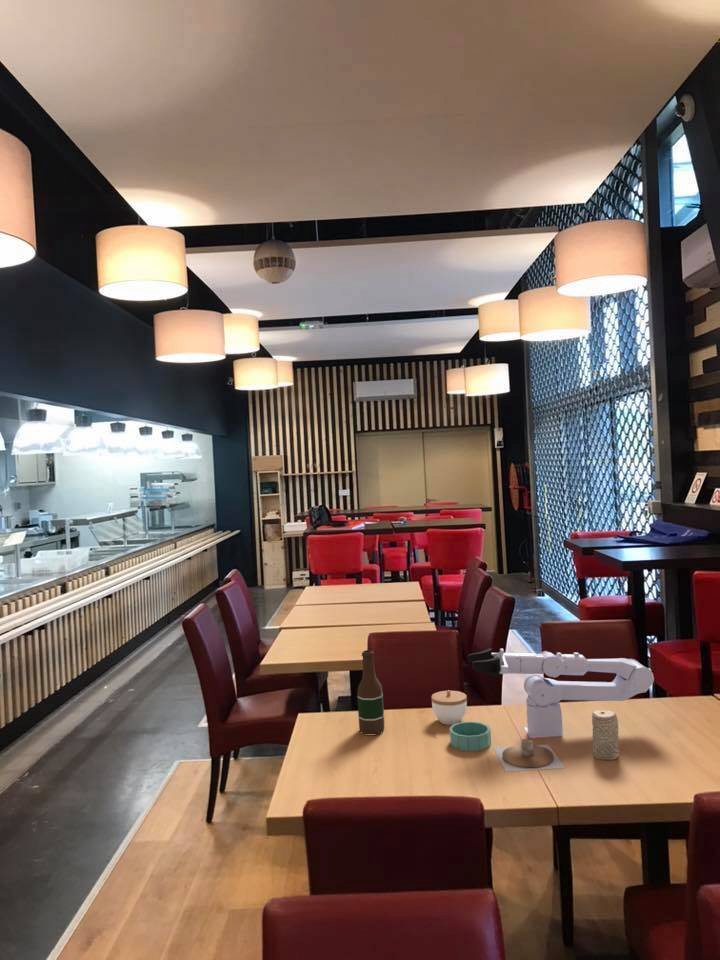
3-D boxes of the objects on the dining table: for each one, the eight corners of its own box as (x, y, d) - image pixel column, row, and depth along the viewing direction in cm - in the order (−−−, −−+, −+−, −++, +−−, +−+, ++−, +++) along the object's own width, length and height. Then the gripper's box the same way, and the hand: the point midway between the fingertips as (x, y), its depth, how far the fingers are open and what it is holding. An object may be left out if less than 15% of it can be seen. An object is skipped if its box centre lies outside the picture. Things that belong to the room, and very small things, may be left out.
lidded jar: (467, 714, 221) (465, 684, 221) (468, 727, 211) (467, 696, 211) (432, 715, 223) (430, 685, 222) (432, 728, 212) (431, 697, 212)
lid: (545, 746, 192) (544, 730, 192) (559, 766, 179) (559, 749, 179) (497, 749, 192) (497, 733, 192) (508, 769, 179) (507, 752, 179)
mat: (548, 746, 194) (548, 744, 193) (565, 770, 178) (564, 767, 178) (493, 750, 193) (493, 747, 193) (505, 773, 178) (505, 771, 178)
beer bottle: (389, 728, 214) (385, 649, 213) (376, 737, 207) (371, 655, 206) (368, 724, 218) (363, 646, 217) (354, 733, 211) (349, 653, 211)
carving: (589, 761, 183) (587, 714, 183) (599, 750, 189) (596, 706, 189) (614, 766, 179) (611, 719, 179) (623, 755, 185) (621, 709, 185)
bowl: (486, 736, 203) (485, 720, 203) (494, 751, 192) (493, 735, 192) (448, 738, 203) (447, 722, 203) (453, 754, 192) (453, 737, 192)
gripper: (512, 643, 210) (466, 641, 209) (524, 656, 195) (475, 654, 195) (511, 666, 210) (465, 665, 210) (523, 681, 195) (474, 680, 195)
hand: (470, 662), depth 202 cm, fingers open, 7 cm apart
